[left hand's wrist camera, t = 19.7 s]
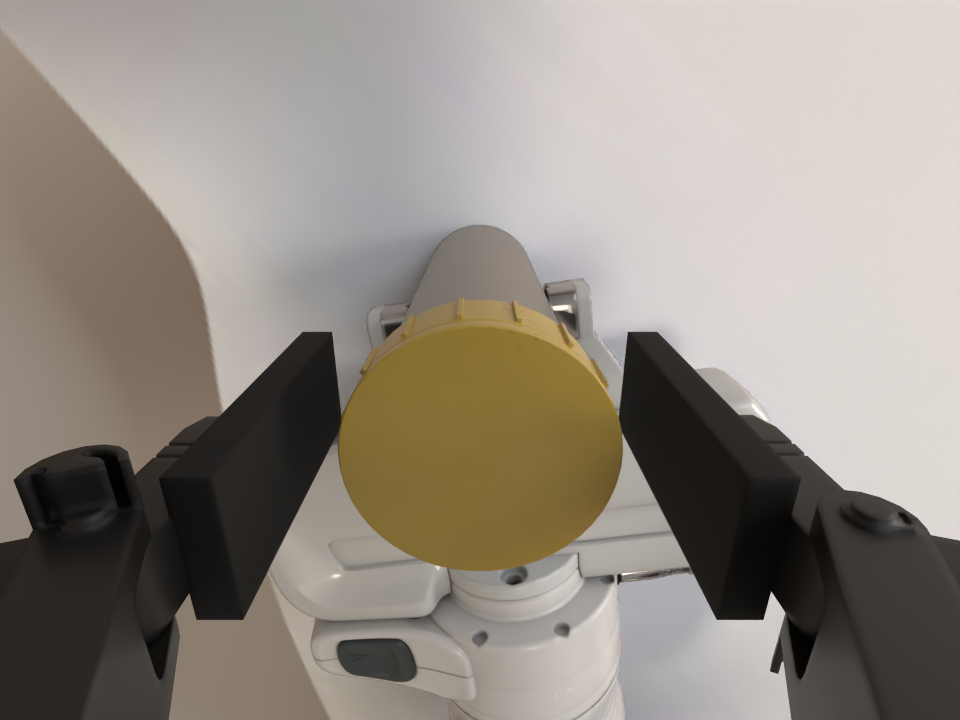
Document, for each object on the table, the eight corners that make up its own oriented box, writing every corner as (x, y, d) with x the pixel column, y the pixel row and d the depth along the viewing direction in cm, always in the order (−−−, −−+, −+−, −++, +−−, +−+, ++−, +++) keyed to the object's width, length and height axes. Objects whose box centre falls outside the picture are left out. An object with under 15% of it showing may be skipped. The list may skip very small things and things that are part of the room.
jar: (477, 345, 27) (474, 572, 12) (407, 274, 25) (311, 436, 11) (552, 280, 25) (647, 447, 11) (482, 201, 24) (487, 275, 10)
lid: (623, 304, 11) (649, 333, 9) (586, 523, 13) (602, 579, 11) (352, 289, 11) (328, 314, 9) (359, 512, 13) (341, 567, 11)
